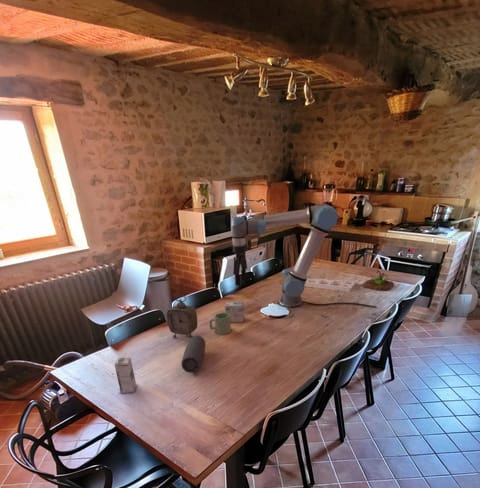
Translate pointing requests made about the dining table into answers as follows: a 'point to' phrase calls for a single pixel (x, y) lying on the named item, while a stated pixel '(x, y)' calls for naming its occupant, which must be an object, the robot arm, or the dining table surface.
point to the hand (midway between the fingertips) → (241, 282)
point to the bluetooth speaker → (193, 354)
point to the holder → (331, 284)
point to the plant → (379, 283)
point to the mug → (221, 323)
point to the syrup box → (125, 374)
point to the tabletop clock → (182, 318)
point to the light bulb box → (235, 311)
